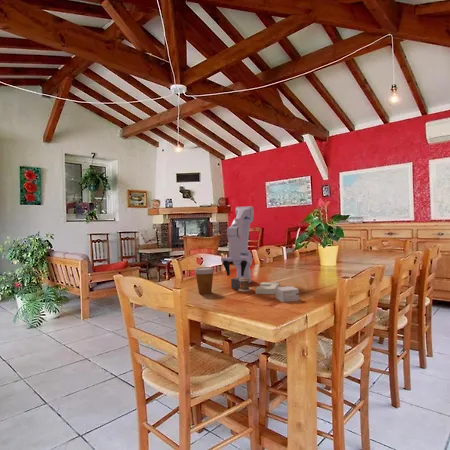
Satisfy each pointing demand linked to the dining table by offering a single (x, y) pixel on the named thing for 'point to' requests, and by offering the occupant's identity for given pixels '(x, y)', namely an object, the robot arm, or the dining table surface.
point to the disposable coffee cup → (204, 279)
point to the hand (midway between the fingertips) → (235, 275)
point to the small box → (287, 293)
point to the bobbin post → (244, 285)
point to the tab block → (235, 283)
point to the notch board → (267, 288)
